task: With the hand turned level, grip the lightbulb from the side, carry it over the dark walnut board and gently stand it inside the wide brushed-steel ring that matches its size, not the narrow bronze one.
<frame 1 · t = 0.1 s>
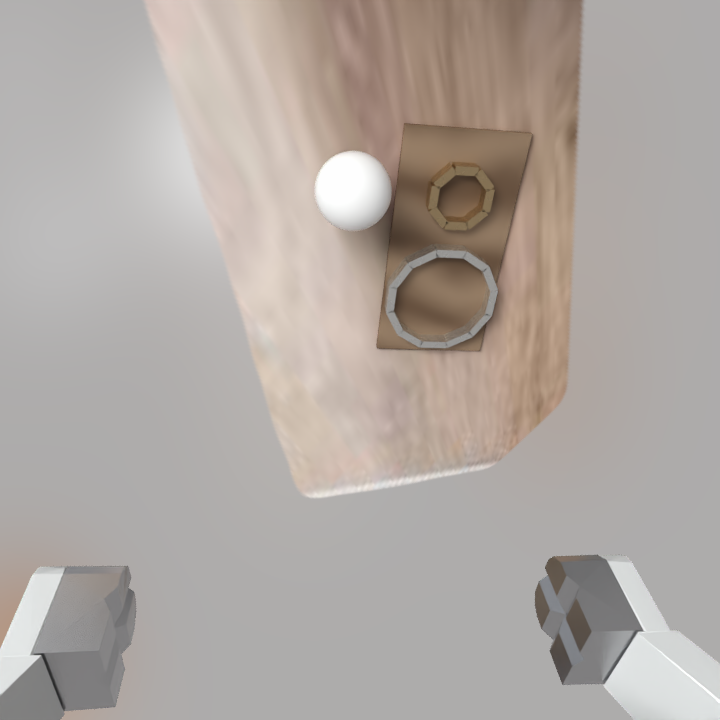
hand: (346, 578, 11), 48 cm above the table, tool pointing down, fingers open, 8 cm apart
lightbulb: (345, 163, 54), on the table
socket board: (446, 249, 60), on the table
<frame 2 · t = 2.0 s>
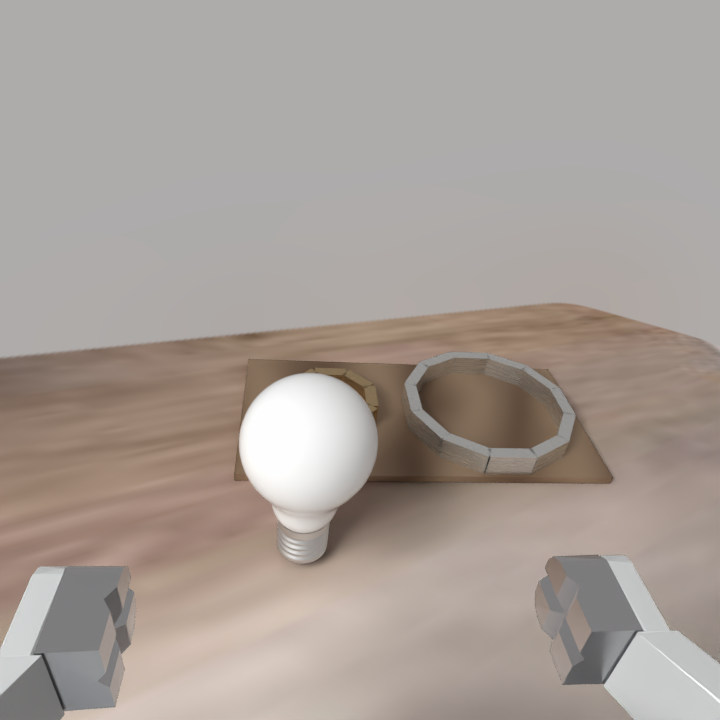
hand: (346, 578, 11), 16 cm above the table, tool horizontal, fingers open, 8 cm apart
lightbulb: (301, 552, 31), on the table
socket board: (414, 418, 41), on the table
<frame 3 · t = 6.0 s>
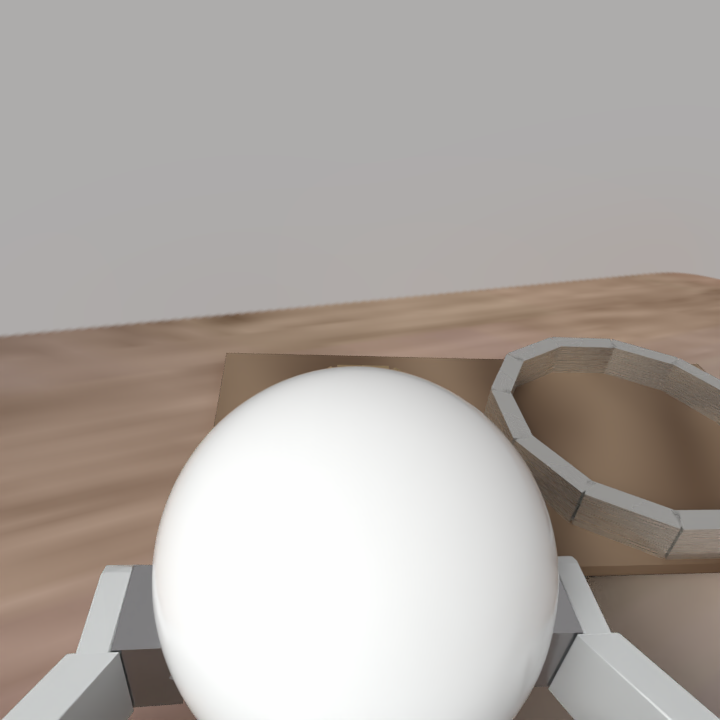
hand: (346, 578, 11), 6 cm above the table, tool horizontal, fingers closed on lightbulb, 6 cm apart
socket board: (509, 450, 24), on the table
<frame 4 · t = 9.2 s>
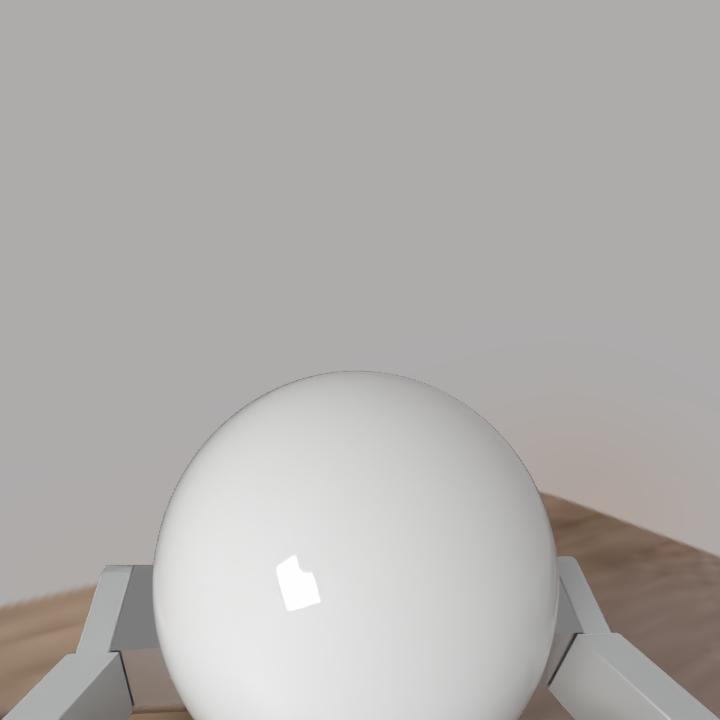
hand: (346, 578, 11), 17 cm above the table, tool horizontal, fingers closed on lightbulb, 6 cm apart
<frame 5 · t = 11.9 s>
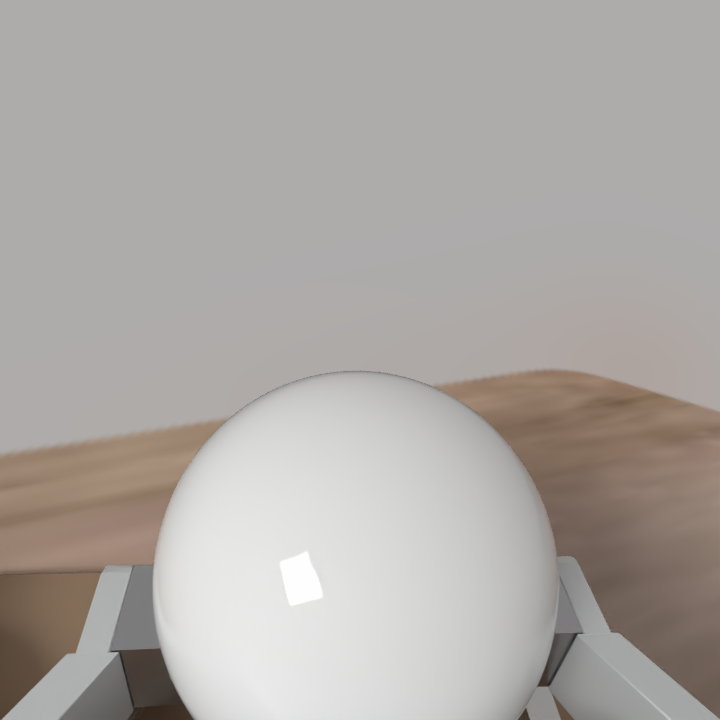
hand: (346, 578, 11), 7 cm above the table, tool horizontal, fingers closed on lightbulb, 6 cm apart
when the fingers open (7 cm above the table, at t = 12.6 s): lightbulb moves 1 cm, resting on socket board.
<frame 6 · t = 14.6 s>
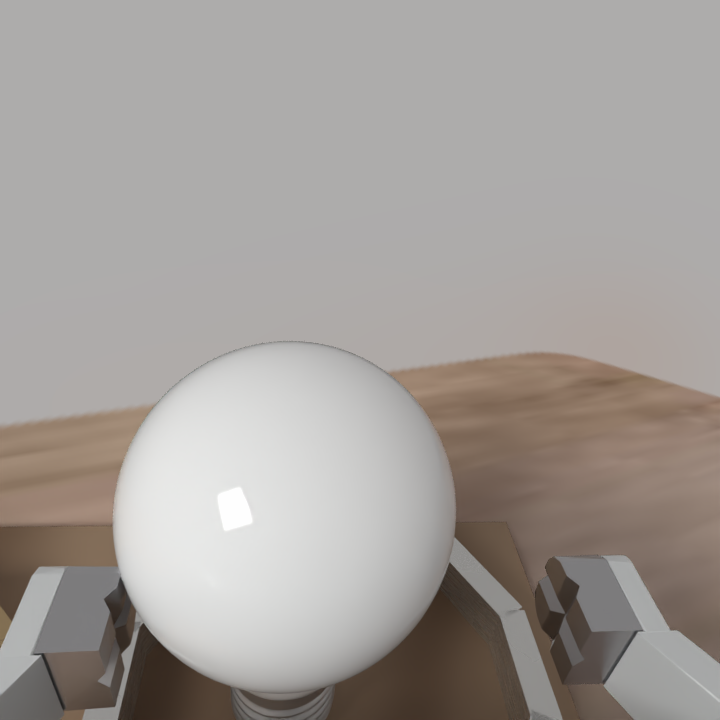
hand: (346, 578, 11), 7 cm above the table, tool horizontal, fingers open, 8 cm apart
lightbulb: (282, 706, 16), resting on socket board
socket board: (137, 716, 15), on the table
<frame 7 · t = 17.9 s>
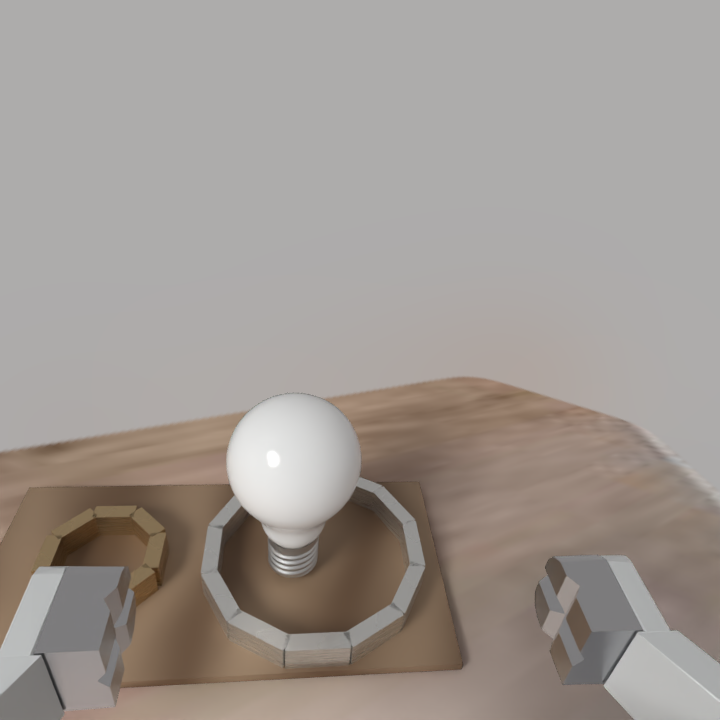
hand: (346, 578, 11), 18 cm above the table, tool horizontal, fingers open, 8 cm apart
lightbulb: (292, 566, 32), resting on socket board
socket board: (222, 571, 32), on the table
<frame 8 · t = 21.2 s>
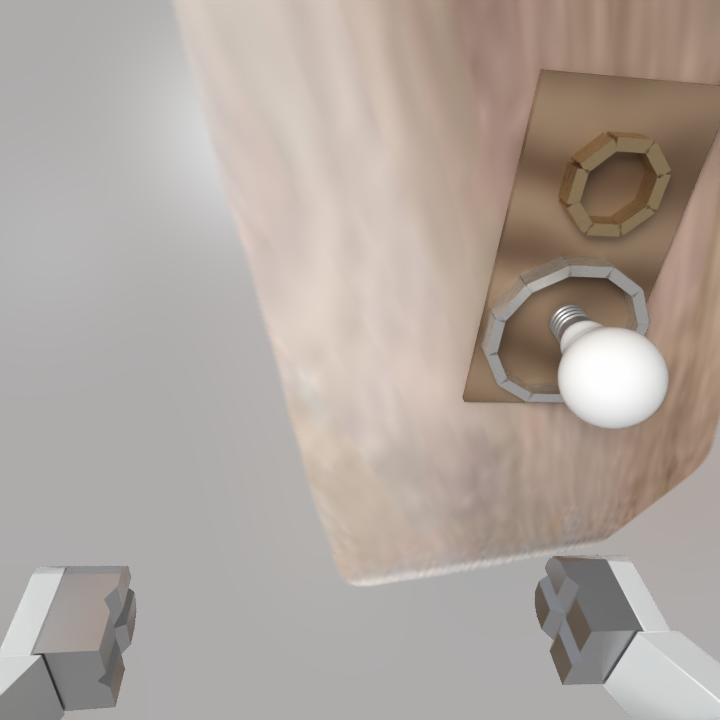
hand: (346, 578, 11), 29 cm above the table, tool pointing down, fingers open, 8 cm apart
lightbulb: (562, 313, 43), resting on socket board
socket board: (576, 264, 41), on the table
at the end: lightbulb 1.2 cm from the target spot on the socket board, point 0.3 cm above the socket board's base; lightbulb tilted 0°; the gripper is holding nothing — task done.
